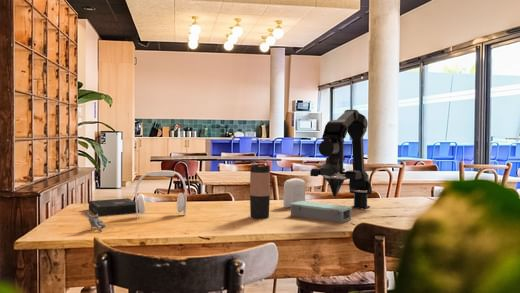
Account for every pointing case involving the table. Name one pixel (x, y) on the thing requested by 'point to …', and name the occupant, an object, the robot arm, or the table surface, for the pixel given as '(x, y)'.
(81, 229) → the table surface
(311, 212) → the cable duct
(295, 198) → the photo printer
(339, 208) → the duct cover
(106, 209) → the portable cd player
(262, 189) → the travel mug
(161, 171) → the headset
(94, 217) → the elephant figurine
